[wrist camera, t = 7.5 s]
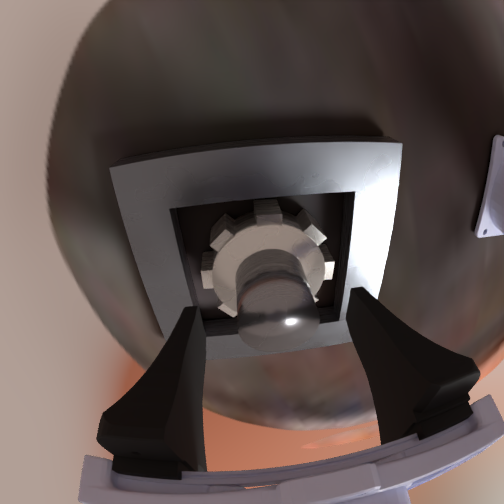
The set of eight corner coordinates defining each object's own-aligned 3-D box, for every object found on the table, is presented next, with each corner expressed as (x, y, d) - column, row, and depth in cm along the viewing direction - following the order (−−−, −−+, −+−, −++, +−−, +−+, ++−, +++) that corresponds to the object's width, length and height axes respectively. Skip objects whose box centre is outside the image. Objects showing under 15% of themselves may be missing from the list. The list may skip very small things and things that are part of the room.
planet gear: (330, 197, 15) (371, 253, 11) (318, 297, 19) (341, 363, 15) (196, 204, 15) (184, 265, 11) (211, 305, 19) (208, 376, 14)
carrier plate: (388, 136, 14) (402, 143, 12) (359, 324, 21) (366, 338, 20) (119, 159, 13) (109, 168, 12) (176, 345, 21) (174, 361, 20)
